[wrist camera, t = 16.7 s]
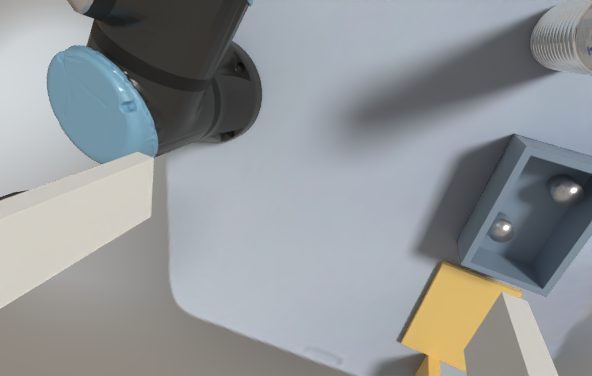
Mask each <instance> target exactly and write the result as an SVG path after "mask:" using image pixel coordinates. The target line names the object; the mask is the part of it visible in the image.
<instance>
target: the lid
mask: <svg viewBox="0 0 592 376" xmlns="http://www.w3.org/2000/svg"><path fill="white" fill-rule="evenodd" d="M501 292H504V293H507V294H509V295H512V296H515V297H517V298H520V297H521V296H522V291H521V290H518V289H516V288H513V287H511V286H508V285H505V284H503V283H500V282H497V281H495V280H492V279H489V278H487V277H484V276H482V275H479V274H476V273H474V272H471V271H468V270H466V269H463V268H460V267H458V266H455V265H453V264H450V263H447V262H445V261H442V263H441V265H440V267H439V269H438V271H437V273H436V275H435V277H434V278H433V280H432V282H431V284H430V286H429V288H428V290H427V292H426V294H425V296H424V298H423V299H422V301H421V303H420V305H419V307H418V309H417V311H416V313H415V315H414V317H413V319H412V321H411V322H410V324H409V326H408V328H407V330H406V332H405V334H404V336H403V338H402V340H401V344H403V345H406V346H408V347H410V348H412V349H415V350H417V351H419V352H422V353H424V354H426V357H425V358H424V360H423V362H422V363H421V365H420V367H419V369H418V370H417V372H416V374H415V376H440V361H442V362H444V363H447V364H449V365H451V366H453V367H456V368H458V369H460V370H462V371H465V372H466V364H465V357H464V349H465V347H466V346H467V344H468V343H469V341H470V340H471V338H472V337H473V335H474V334H475V332H476V330H477V329H478V327H479V326H480V324H481V323H482V321H483V320H484V318H485V317H486V315H487V314H488V312H489V310H490V309H491V307H492V306H493V304H494V303H495V301H496V300H497V298H498V297H499V295H500V294H501Z"/></svg>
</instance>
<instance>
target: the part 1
mask: <svg viewBox="0 0 592 376" xmlns="http://www.w3.org/2000/svg"><path fill="white" fill-rule="evenodd" d="M488 234H489V236H490V238H491V239H492V240H494V241H495V242H499V243H504V242H508V241H510V240H511V239H512V238H513V237H514V235H515V230H514V228H513V226H512V224H511V222H510V220H509V218H508V216H507V215H506V214H504V213H501V212H498V214H497V216H496V218H495V219H494V221H493V223H492V225H491V226H490V228H489V230H488Z"/></svg>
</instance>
